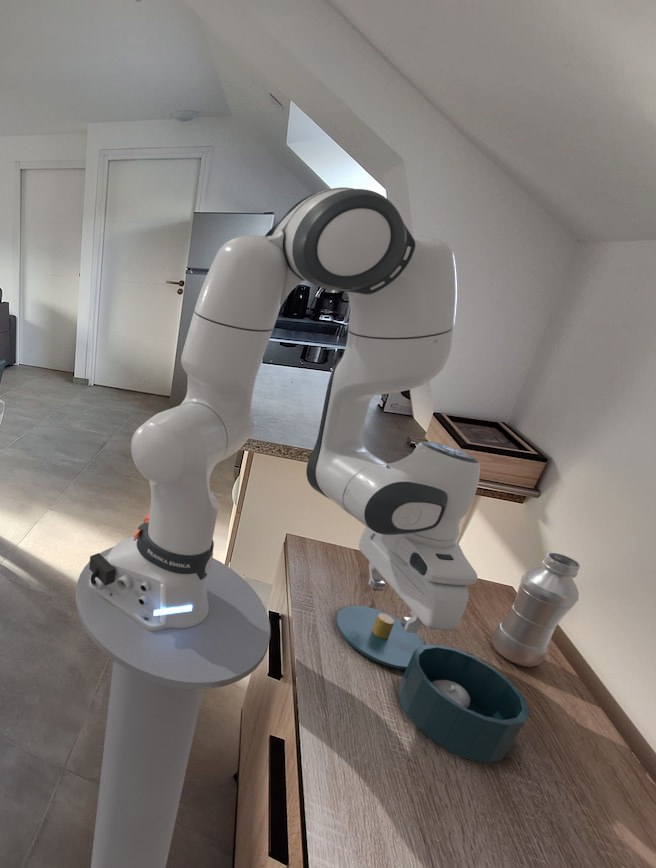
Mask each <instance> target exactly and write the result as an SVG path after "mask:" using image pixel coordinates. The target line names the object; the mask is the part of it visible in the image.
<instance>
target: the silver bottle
mask: <svg viewBox="0 0 656 868" xmlns="http://www.w3.org/2000/svg"><path fill="white" fill-rule="evenodd" d="M541 565H542V566H539V567H535V568H533V569H532V568H531V569H530V570H528V571H526V572H525V573H524V574H522V576H521V578H520V581H519V585H518V588H517V593H516V596H515V599H514V601H513V604H512V606H511V607H510V610H509V611H508V613H507V615H506V616H505V617H504V619H503V620H502V622H500V623H499V624H498V625H497V626H496V628H495V629H494V630H493V632H492V637H491V643H492V645H493V648H494V649H495V651H497V653H498V654H499V655H501V656H502V657H503V658H505V659H506V660H508V661H509V662H511V663H514V664H516V665H519V666H522V667H526V668H531V667H537V666H539V665H540V664H542V663H543V662H544V660H545V659H546V658H547V654H548V651H549V644H550V642H551V639H552V637H553V634H554V632H555V630H556V628H557V626H558V625H559V624H560V622H561V621H562V619H563V618H564V617H565V616H566V615H567V614H568V613H569V611H571V609H572V608H573V607H574V606H575V605H576V603H577V602H578V601H579V595H580V593H579V590H578V586H577V584H576V583H575V581H574V579H575V578H576V577H577V576H578V572H579V570H580V568H581V564H580V563H579V562H578V561H577V560H575V559H573V558H572V557H569V556H567V555H565V554H562V553H558V552H548V553H547V554H546V556H545V557H544V559H543V560H542V562H541Z"/></svg>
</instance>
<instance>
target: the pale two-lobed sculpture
mask: <svg viewBox="0 0 656 868" xmlns="http://www.w3.org/2000/svg"><path fill="white" fill-rule="evenodd" d="M431 683H432V684H433V685H435V686H436V687H437V688H438V689H439V690H440V691H441V692H442V693H443V694H444V695H446V696H447V697H449V698H450V699H452V700H453V701H455V702H457V703H458V704H460V705H461V706H463V707H465V708H468V707H469V705H470V696H469V694H468V693H467V691H466V690H465V689H464V688H463V687H462V686H460V685H459V684H457V683H455V682H452V681H448V680H436V681H433V682H431Z"/></svg>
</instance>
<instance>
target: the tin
mask: <svg viewBox="0 0 656 868" xmlns="http://www.w3.org/2000/svg"><path fill="white" fill-rule="evenodd" d="M436 680H448V681H452V682H455V683H457V684H459V685H460V686H462V687H463V688H464V689H465V690H466V691H467V693H468V694H469V696H470V705H469V707H468V708H465V707H463V706H461V705H460V704H458V703H457V702H455V701H453V700H452V699H450V698H449V697H447V696H446V695H444V694H443V693H442V692H441V691H440V690H439V689H438V688H437V687H436V686H435V685H433V684H432V683H431V682H433V681H436ZM397 691H398V692H397V696H398V700H399V704H400V706H401V709H402V710H403V712H404V713H405V715H406V716H407V718H408V719H409V720H410V722H411V723H413V725H414V726H415V727H416V728H417V729H418V730H419V731H420V732H421V733H423V734H424V735H425V736H426V737H427V738H429V739H430V740H432V741H433V742H434V743H435V744H437V745H438V746H440V747H442V748H444V749H445V750H446V751H449V752H451V753H453V754H454V755H457V756H459V757H461V758H464V759H467V760H470V761H474V762H477V763H488V764H489V763H496V762H499V761H501V760H503V759H504V758H505V756H506V755H507V754H508V751H509V750H510V748H511V747H512V744H513V743H514V741H515V740H516V738H517V736H518V734H519V733H520V731H521V730H522V728H523V726H524V724H525V723H526V721H527V719H528V717H529V716H530V714H531V711H530V708H529V705H528V701H527V699H526V697H525V696H524V695H523V694H522V693H521V691H520V690H519V689H518V688H517V685H515V684H514V683H513V681H511V680H510V679H509V678H507V677H506V676H505V675H504V674H502V672H500V671H499V670H498V669H496V668H495V667H494V666H491V665H490V664H488V663H487V662H484V661H483V660H481V659H480V658H478V657H477V656H475V655H473V654H470V653H467V652H465V651H462V650H460V649H458V648H455V647H452V646H446V645H443V644H442V645H441V644H437V643H432V644H425V645H423V646H420V647H419V648H418V649H417V650H416V651H415V652H413V655H412V657H411V659H410V662H409V664H408V666H407V669H406V670H404V674H403V676H402V678H401V679H400V683H399V685H398V690H397Z"/></svg>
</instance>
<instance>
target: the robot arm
mask: <svg viewBox="0 0 656 868" xmlns="http://www.w3.org/2000/svg"><path fill="white" fill-rule="evenodd" d="M455 259H456V258H455V254H454V251H453V249H452V248H451V247H450V246H449V245H448V243H446V242H445V241H442V240H440V239H437V238H434V237H430V236H422V235H412V234H411V231H410V230H409V229H408V227H407V226H406V224H405V222H404V220H403V218H402V216H401V214H400V212H399V210H398V209H397V207H396V206H395V205H394V204H393V202H392V201H390V199H388V198H387V197H385V196H384V195H382V194H380V193H378V192H376V191H374V190H371V189H364V188H352V187H333V188H329V189H324V190H322V191H319V192H316V193H312V194H310V195H308V196H306V197H304V198H303V199H301V200H299V201H298V202H296V203H295V204H294V205H293V206H291V208H290V209H289V210H288V211H287V212H286V213H285V214H284V215H283V216H282V217H281V218H280V219H279V220H278V221H277V222H276V223H275V224H274V225H273V226H272V227H271V228H270V229H269V230H268V232H267V233H266V234H265V235H258V234H247V235H241V236H237V237H234V238H231V239H229V240H227V241H226V242H225V243H223V244H222V246H221V247H220V248H219V250H218V251H217V252H216V255H215V257H214V258H213V261H212V263H211V265H210V267H209V270H208V271H207V273H206V276H205V279H204V281H203V284H202V285H201V289H200V292H199V295H198V298H197V301H196V304H195V307H194V311H193V313H192V317H191V320H190V325H189V328H188V332H187V335H186V339H185V342H184V345H183V350H182V353H181V358H180V364H181V366H182V369H183V371H184V372H185V373H186V375H187V376H186V377H187V389H186V395H185V397H184V399H183V400H182V401H181V403H180V404H179V405H177V406H175V407H174V406H173V407H172V408H171V407H170V408H168V409H165V410H162V411H160V412H157V413H156V414H154V415H153V416H152V417H150V418H149V419H147V420H146V421H145V422H143V424H141V425H140V426H139V427H138V428H137V429H136V430H135V431H134V433H133V435H132V436H131V437H132V438H131V441H130V454H131V458H132V460H133V464H134V465H135V468H136V469H137V470H138V472H139V473H140V474H141V475H142V476H143V477H144V478H146V479H147V480H148V481H149V487H150V494H151V495H150V496H151V497H150V507H149V508H150V509H149V514H147V515H146V517H145V518H143V523H141V524H140V525H139V526H138V528H137V531H136V532H135V533H134V535H133V536H130V537H129V536H128V537H126V538H124V539H121V540H119V542H117V543H116V544H115V545H114V546H112V547H113V548H112V547H111V548H112V550H111V551H110V552H109V554H108V555H107V556H106V557H103V556H102V555H101V554H100V553H101V552H98V553H95V554H93V555H90V556H89V561H90V565H89V569H90V570H91V571H92V573H91V575H90V580H89V587H90V588H91V589H92V590H93V591H94V592H96V593H97V594H98V595H100V596H101V597H103V598H104V599H105V600H107V601H108V602H110V603H111V604H112V605H114V606H115V607H116V608H118V609H119V610H121V611H122V612H123V613H125V614H126V615H127V616H129V617H130V618H132V619H133V620H134V621H136V622H137V623H139V624H140V625H141V626H143V627H144V628H145V629H147V630H149V631H159V630H162V629H165V628H188V627H193V626H195V625H198V624H199V623H201V622H202V621H203V620H204V619H205V618H206V617H207V615H208V612H209V603H208V597H207V574H208V573H209V571H210V567H211V563H212V558H214V546H215V542H214V539H213V538H214V533H215V528H216V522H217V517H218V511H219V502H218V499H217V498H216V495H214V493H212V491H211V485H210V479H211V475H212V472H213V470H214V469H215V468H216V465H217V464H219V463H221V462H222V461H224V460H226V459H228V458H230V457H231V456H233V455H234V454H236V453H237V452H239V450H241V448H242V447H243V446H245V444H246V442H247V441H248V440H249V438H250V437H251V436H252V433H253V430H254V416H253V414H252V411H251V410H252V402H253V395H254V388H255V383H256V379H257V375H258V372H259V370H260V367H261V364H262V362H263V358H264V356H265V353H266V350H267V347H268V346H269V342H270V339H271V336H272V334H273V331H274V328H275V326H276V323H277V319H278V316H279V314H280V310H281V307H282V306H283V304H284V303H285V301H286V299H287V298H288V295H290V294H291V292H292V291H293V290H294V289H295V288H297V286H299V285H301V284H303V283H304V282H305V281H306V282H309V283H311V284H312V285H314V286H316V287H319V288H322V289H326V290H329V291H330V290H331V291H339V292H346V294H347V297H348V303H349V307H350V309H349V316H348V326H347V337H346V344H345V349H344V351H343V354H342V357H340V359H339V358H338V360H337V361H336V363H335V365H334V366H333V368H332V370H331V373H330V376H329V379H328V382H327V388H326V392H325V397H324V403H323V407H322V413H321V419H320V424H319V429H318V434H317V438H316V442H315V445H314V447H313V450H312V452H311V453H310V455H309V458H308V460H307V464H306V479H307V482H308V483H309V486H310V487H311V488H312V489H313V490H314V491H316V492H318V493H319V494H320V495H322V496H324V497H325V498H327V499H328V500H330V501H332V502H333V503H335V504H336V505H337V506H339V507H340V508H341V509H342V510H343V511H345V512H346V513H347V514H348V515H350V516H352V517H353V518H354V519H356V521H358V522H360V523H361V524H362V525H364V526H365V527H364V529H363V531H362V533H361V536H360V538H359V541H358V548H359V549H358V550H359V552H360V553H361V554H362V555H363V556H364V557H365V558H366V559H367V561H368V562H369V563H368V571H369V580H368V586H369V587H370V589H372V591H374V592H376V591H377V592H382V591H383V590H384V587H385V585H386V583H387V584H388V585H389V586H390V587H391V588H392V590H394V592H395V593H396V594H397V595H398V596H399V598H401V600H402V601H403V602H404V603H405V605H406V606H407V607H408V608H409V610H410V615H411V617H408V616H403V617H402V619H401V621H402V622H401V625H402V626H403V628H404V629H405V630H406V631H407V632H409V633H418V632H419V630H420V628H421V626H423V625H424V626H425V627H426V628H427V629H430V630H437V631H452V630H455V629H456V628H457V627H458V626H459V624H460V622H461V621H462V618H463V616H464V613H465V612H466V609H467V605H468V603H469V598H470V595H469V589H468V587H467V586H474V585H476V583H477V580H478V574H477V572H476V570H475V569H474V567H473V566H472V565H471V563H470V562H469V560H468V559H467V557H466V555H465V554H464V552H463V550H462V548H461V546H460V544H459V543H458V542H457V541H458V538H459V535H460V524H461V522H462V520H463V518H464V517H466V516H467V515H468V513H469V511H470V509H471V508H472V507H471V506H472V505H473V501H474V499H475V497H476V493H477V489H478V487H479V482H480V477H481V476H480V475H481V465H480V462H479V461H478V460H477V459H476V458H475V457H474V456H472V455H470V454H468V453H466V452H464V451H462V450H460V449H457V448H455V447H452V446H449V445H446V444H444V443H439V442H435V441H420V442H419V443H418V444H417V445H416V447H415V448H414V450H413V452H412V453H410V454H409V455H407V456H405V457H404V458H402V459H399V460H397V461H393V462H389V463H387V462H386V461H384V460H382V459H381V458H379V457H377V456H375V455H374V454H372V453H371V452H370V451H369V450H368V449H367V447H366V446H365V445H364V443H363V440H362V435H363V432H364V427H365V423H366V419H367V416H368V411H369V406H370V404H371V401H372V399H373V398H374V397H375V396H379V395H390V394H395V393H400V392H405V391H409V390H414V389H417V388H419V387H421V386H422V385H423V386H424V385H425V384H426V383H428V382H430V381H431V380H433V379H434V378H435V377H436V376H437V375H438V374H440V373H441V371H443V369H444V367H445V365H446V363H447V361H448V359H449V356H450V354H451V349H452V344H453V337H454V331H455V330H454V329H455V323H456V314H457V301H458V299H457V298H458V290H457V289H458V284H457V283H458V282H457V281H458V280H457V267H456V260H455ZM385 581H386V582H385ZM146 620H147V621H146Z"/></svg>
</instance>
